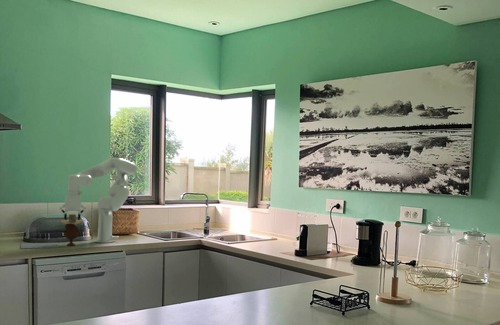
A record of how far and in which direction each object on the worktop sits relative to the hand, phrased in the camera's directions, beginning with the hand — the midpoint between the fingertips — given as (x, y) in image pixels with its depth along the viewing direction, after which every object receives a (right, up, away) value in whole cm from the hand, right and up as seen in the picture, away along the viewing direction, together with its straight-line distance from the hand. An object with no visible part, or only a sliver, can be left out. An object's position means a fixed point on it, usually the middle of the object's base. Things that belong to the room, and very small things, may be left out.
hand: (72, 219), depth 329 cm
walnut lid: (0, -2, 0) cm, 2 cm away
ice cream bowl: (-1, -17, 0) cm, 17 cm away
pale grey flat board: (-18, -16, -8) cm, 25 cm away
